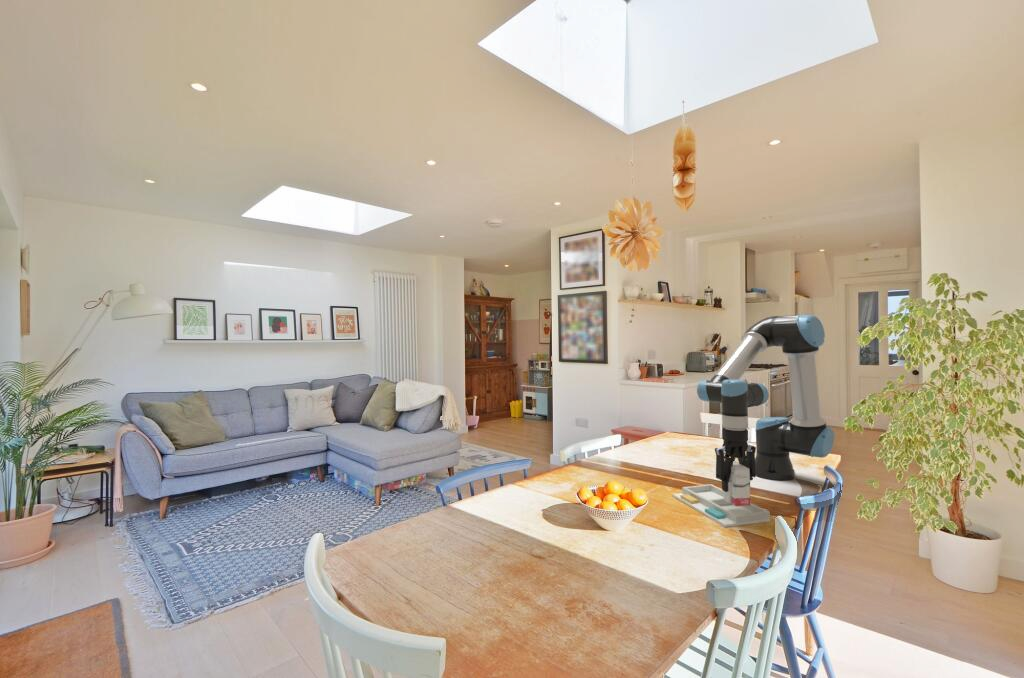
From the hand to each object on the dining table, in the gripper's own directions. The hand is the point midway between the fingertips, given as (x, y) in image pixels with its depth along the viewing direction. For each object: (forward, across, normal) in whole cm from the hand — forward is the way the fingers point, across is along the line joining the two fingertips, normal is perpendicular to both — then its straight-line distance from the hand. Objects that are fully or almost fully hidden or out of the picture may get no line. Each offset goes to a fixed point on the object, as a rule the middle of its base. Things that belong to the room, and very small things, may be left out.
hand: (736, 500), depth 148 cm
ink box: (+1, 0, 0) cm, 1 cm away
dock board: (+5, +2, -7) cm, 8 cm away
